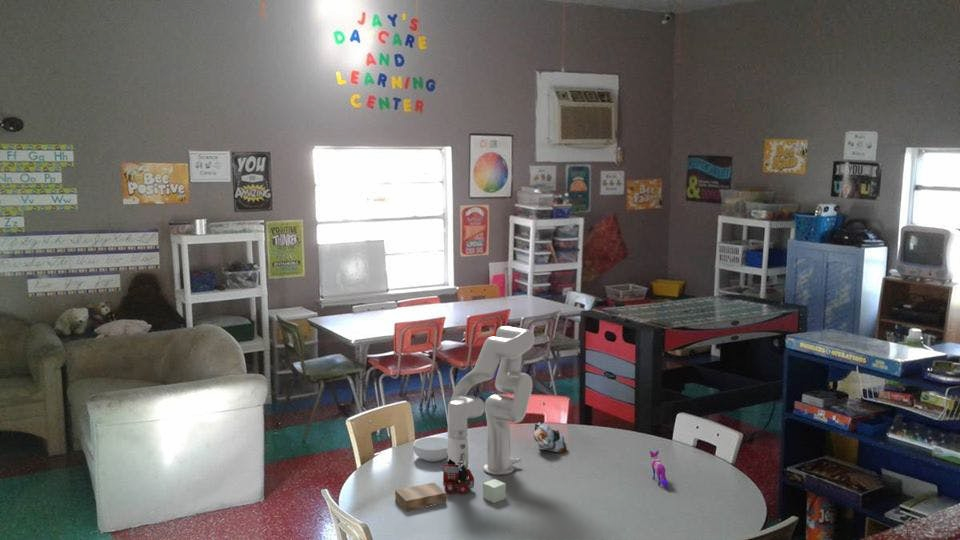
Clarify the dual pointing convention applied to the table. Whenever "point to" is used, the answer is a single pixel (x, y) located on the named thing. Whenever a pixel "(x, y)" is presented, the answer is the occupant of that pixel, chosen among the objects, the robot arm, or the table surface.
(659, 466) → the toy dog
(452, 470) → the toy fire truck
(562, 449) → the lucky cat figurine
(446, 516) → the table surface
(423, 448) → the cereal bowl
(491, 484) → the sage cube
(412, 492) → the tan block
